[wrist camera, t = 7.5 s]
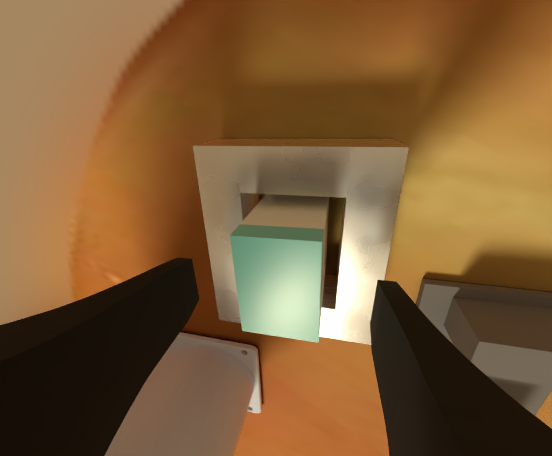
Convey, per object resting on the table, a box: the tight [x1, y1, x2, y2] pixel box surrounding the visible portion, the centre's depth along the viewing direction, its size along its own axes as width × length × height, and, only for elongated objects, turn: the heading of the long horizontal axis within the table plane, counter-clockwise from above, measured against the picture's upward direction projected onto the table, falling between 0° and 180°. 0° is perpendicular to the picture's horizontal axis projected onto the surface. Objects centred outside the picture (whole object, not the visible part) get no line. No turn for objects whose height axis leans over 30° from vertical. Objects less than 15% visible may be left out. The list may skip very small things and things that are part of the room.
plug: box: [230, 194, 329, 343], centre depth 12 cm, size 3×4×6 cm
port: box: [193, 139, 409, 345], centre depth 13 cm, size 9×10×3 cm
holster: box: [416, 279, 552, 416], centre depth 14 cm, size 8×11×4 cm
